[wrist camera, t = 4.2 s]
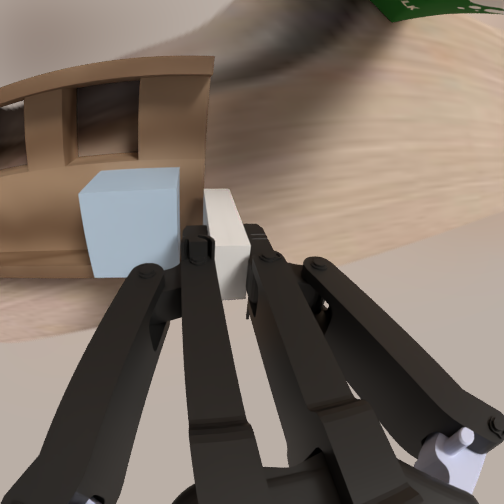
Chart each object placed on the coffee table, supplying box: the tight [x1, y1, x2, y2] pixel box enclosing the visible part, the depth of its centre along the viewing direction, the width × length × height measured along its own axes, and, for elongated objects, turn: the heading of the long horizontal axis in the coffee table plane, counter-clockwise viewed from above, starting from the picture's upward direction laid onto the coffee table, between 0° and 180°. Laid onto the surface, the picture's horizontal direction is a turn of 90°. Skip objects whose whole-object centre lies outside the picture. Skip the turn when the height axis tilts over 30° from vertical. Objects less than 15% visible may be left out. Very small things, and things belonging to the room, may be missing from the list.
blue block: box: [78, 167, 180, 278], centre depth 15 cm, size 5×5×4 cm
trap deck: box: [0, 56, 215, 278], centre depth 14 cm, size 13×24×5 cm, turn 85°
